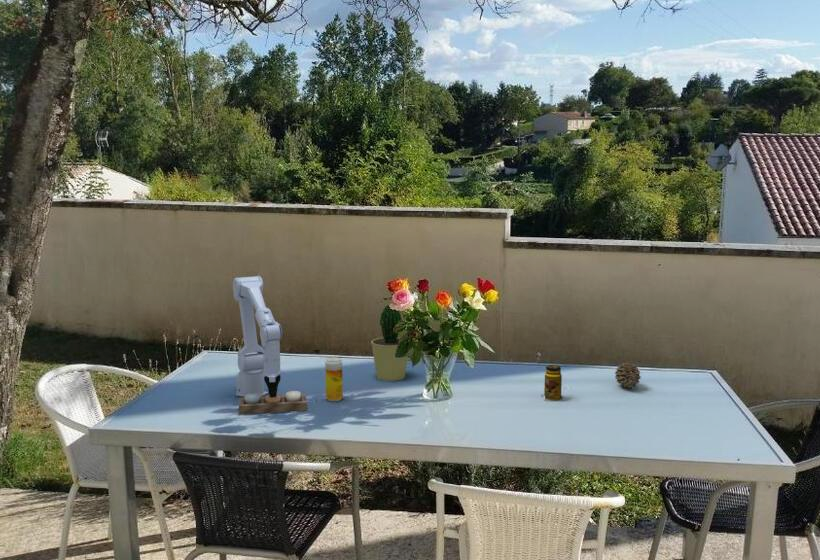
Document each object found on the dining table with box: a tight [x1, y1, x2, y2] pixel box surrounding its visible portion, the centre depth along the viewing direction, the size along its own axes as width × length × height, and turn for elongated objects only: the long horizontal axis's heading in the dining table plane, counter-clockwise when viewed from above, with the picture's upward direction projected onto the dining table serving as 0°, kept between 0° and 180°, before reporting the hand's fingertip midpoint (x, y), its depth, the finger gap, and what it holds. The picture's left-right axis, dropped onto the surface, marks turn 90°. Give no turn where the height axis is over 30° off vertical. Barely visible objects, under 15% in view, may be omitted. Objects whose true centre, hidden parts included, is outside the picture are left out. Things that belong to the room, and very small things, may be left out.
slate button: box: [245, 393, 260, 404], centre depth 264 cm, size 5×5×3 cm
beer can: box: [324, 357, 344, 403], centre depth 275 cm, size 6×6×15 cm
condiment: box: [540, 364, 565, 402], centre depth 276 cm, size 7×8×12 cm
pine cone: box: [614, 362, 642, 389], centre depth 292 cm, size 22×10×10 cm, turn 174°
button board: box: [238, 393, 308, 416], centre depth 266 cm, size 23×10×3 cm, turn 100°
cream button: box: [285, 390, 302, 402], centre depth 267 cm, size 5×5×3 cm
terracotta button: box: [265, 394, 281, 403], centre depth 265 cm, size 5×5×3 cm
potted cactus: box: [370, 303, 409, 382], centre depth 303 cm, size 15×15×30 cm
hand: (272, 396), depth 265 cm, fingers closed, pressing on terracotta button
